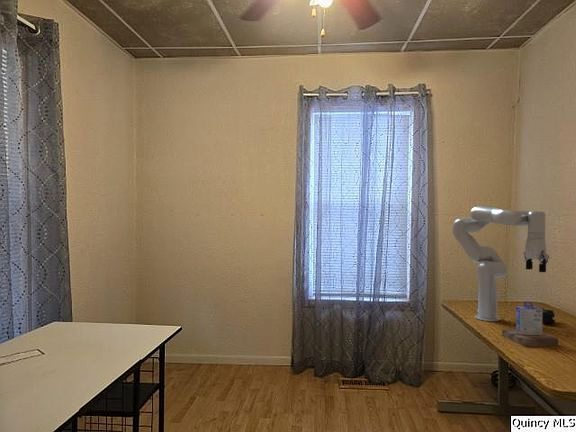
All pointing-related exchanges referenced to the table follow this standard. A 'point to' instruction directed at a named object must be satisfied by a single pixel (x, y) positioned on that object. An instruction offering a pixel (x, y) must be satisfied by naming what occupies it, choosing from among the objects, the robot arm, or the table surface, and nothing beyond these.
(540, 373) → the table surface
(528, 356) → the table surface
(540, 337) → the walnut base
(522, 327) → the ink cartridge box
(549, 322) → the end cap
